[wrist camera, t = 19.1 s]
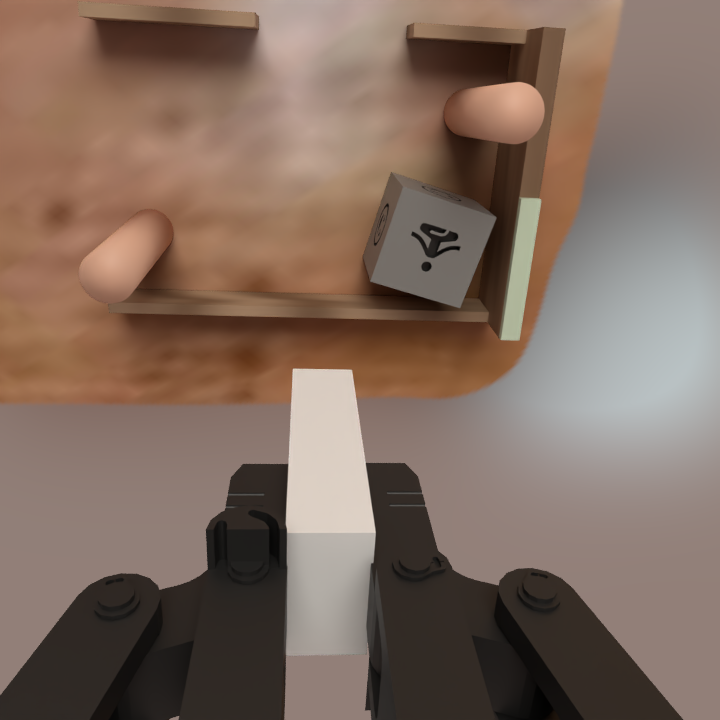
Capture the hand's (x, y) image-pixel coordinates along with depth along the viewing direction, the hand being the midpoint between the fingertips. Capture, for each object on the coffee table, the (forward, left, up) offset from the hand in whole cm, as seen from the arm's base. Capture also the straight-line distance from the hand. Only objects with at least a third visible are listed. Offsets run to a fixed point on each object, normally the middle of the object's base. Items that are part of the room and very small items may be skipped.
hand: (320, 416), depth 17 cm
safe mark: (+9, +6, -17) cm, 20 cm away
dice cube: (+4, +4, -23) cm, 23 cm away
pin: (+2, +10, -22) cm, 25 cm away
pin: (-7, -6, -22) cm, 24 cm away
